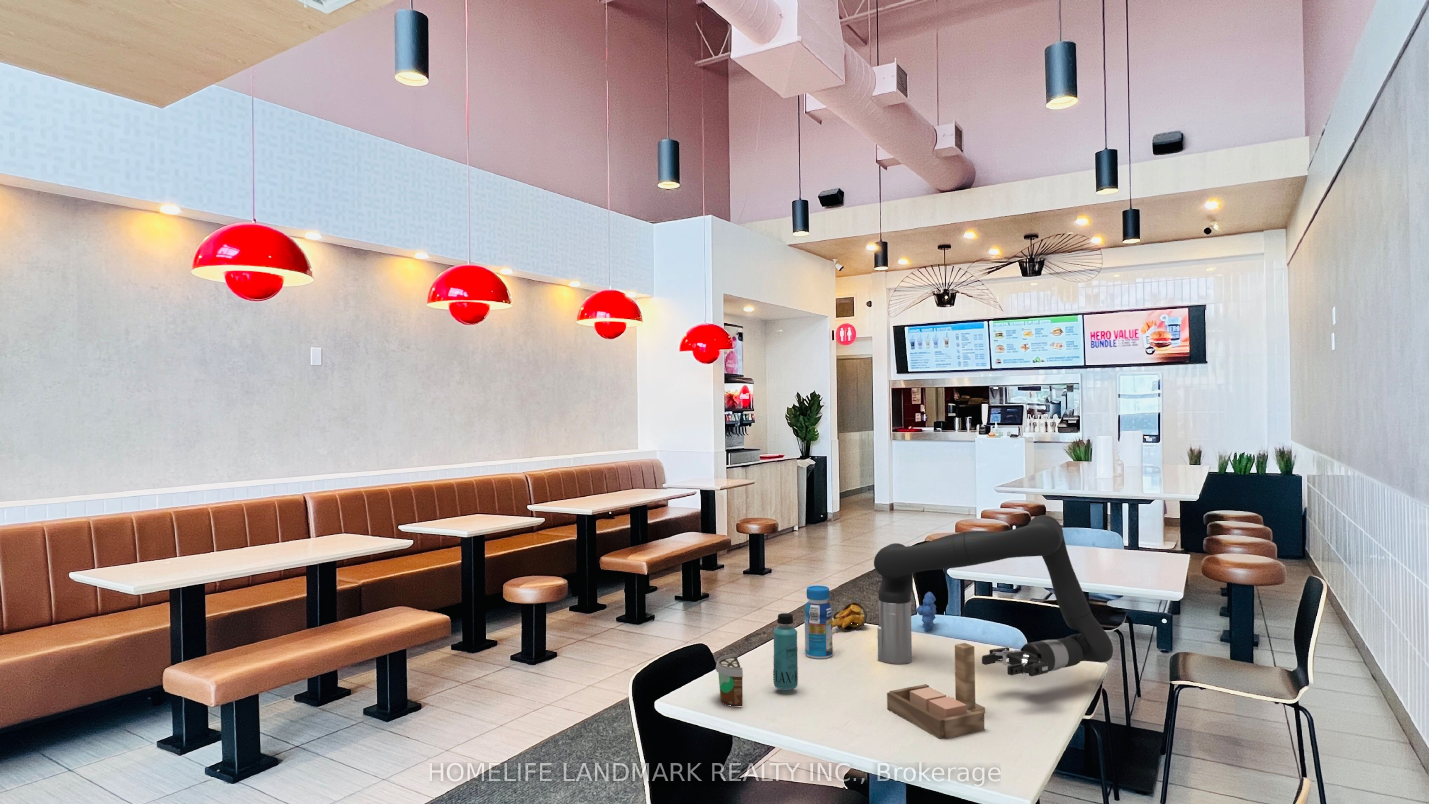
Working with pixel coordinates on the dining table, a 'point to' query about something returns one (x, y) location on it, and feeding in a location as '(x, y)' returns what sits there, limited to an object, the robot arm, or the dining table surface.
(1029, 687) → the dining table surface
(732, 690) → the food container
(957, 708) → the salmon pink block
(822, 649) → the beverage bottle
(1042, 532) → the robot arm
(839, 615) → the fried shrimp in bowl
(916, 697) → the tile
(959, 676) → the wooden post on base
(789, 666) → the beverage bottle
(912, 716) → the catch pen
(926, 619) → the grapes
